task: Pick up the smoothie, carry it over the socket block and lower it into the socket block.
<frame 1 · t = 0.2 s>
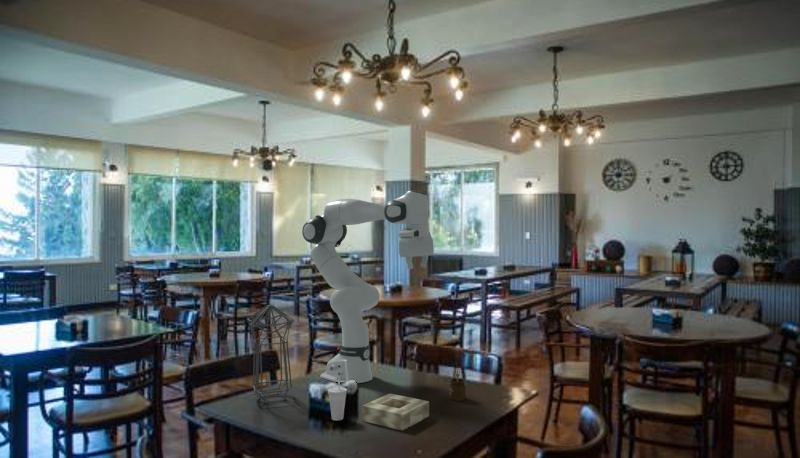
hand: (417, 268, 216), 48 cm above the table, tool pointing down, fingers open, 8 cm apart
brown upright piece: (457, 399, 207), on the table
smoothie: (337, 419, 185), on the table
socket block: (396, 418, 186), on the table
geometric lantern: (270, 399, 206), on the table
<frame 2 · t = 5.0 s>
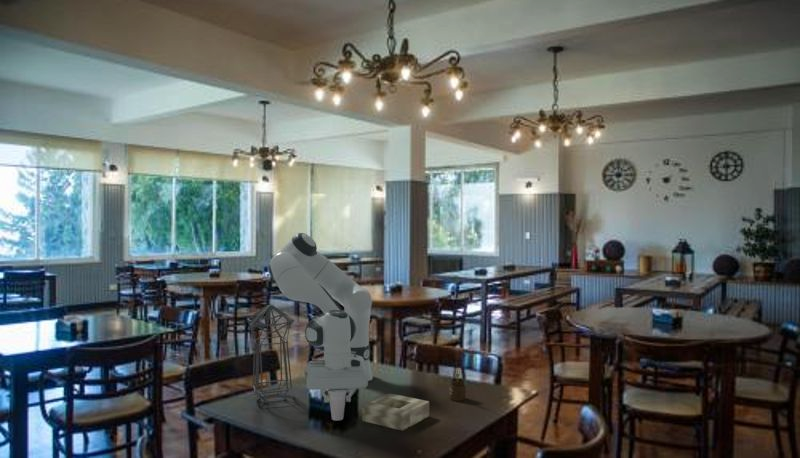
hand: (337, 401, 185), 6 cm above the table, tool pointing down, fingers closed on smoothie, 6 cm apart
smoothie: (337, 419, 185), on the table, touching gripper
everything else where it was.
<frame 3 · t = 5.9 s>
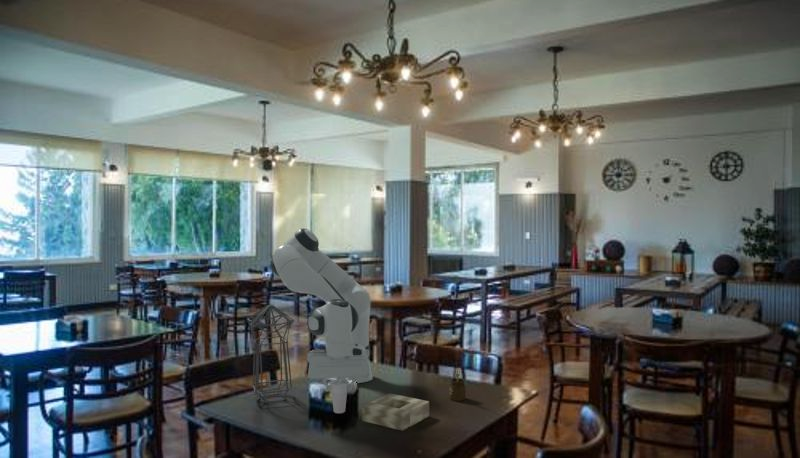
hand: (339, 390, 185), 9 cm above the table, tool pointing down, fingers closed on smoothie, 6 cm apart
smoothie: (339, 412, 185), point 2 cm above the table, touching gripper
everything else where it was.
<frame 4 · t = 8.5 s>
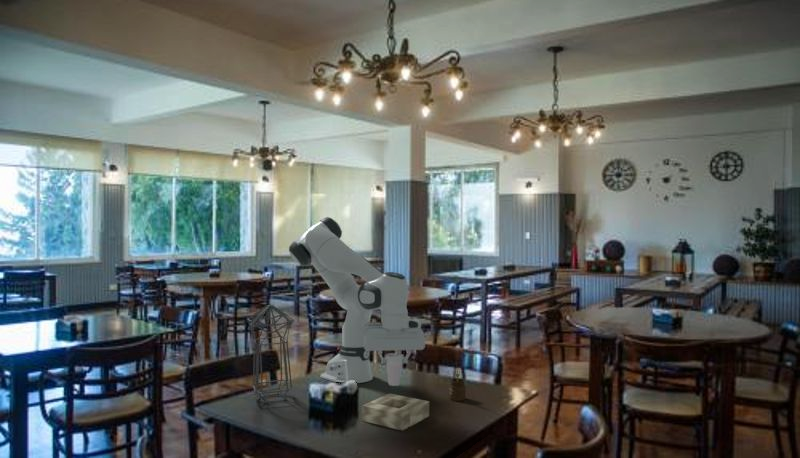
hand: (394, 363, 185), 18 cm above the table, tool pointing down, fingers closed on smoothie, 6 cm apart
smoothie: (394, 384, 185), point 11 cm above the table, touching gripper
everything else where it was.
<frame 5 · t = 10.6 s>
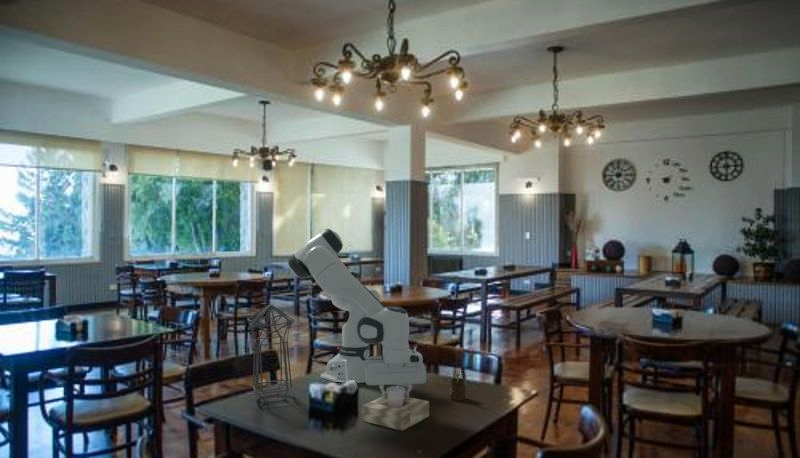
hand: (395, 397, 186), 7 cm above the table, tool pointing down, fingers closed on smoothie, 6 cm apart
smoothie: (395, 418, 186), resting in socket block, touching gripper
everything else where it was.
when the fingers open (7 cm above the table, at t = 11.2 s): smoothie stays where it is, resting in socket block.
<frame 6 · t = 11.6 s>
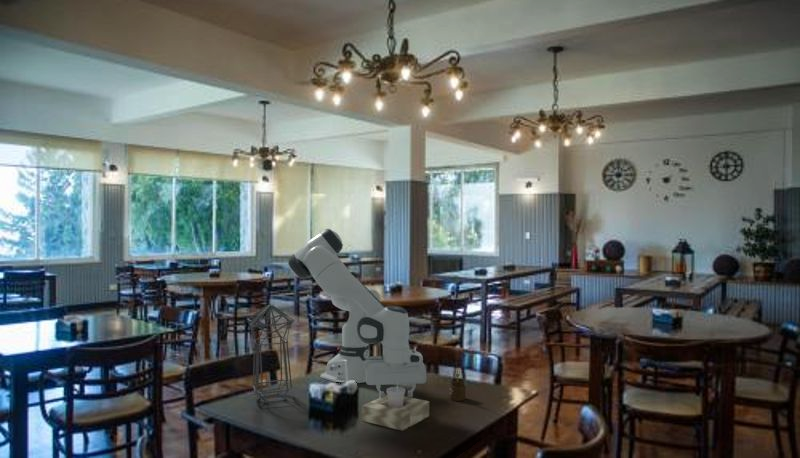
hand: (395, 397, 186), 7 cm above the table, tool pointing down, fingers open, 8 cm apart
smoothie: (395, 419, 186), resting in socket block
everything else where it was.
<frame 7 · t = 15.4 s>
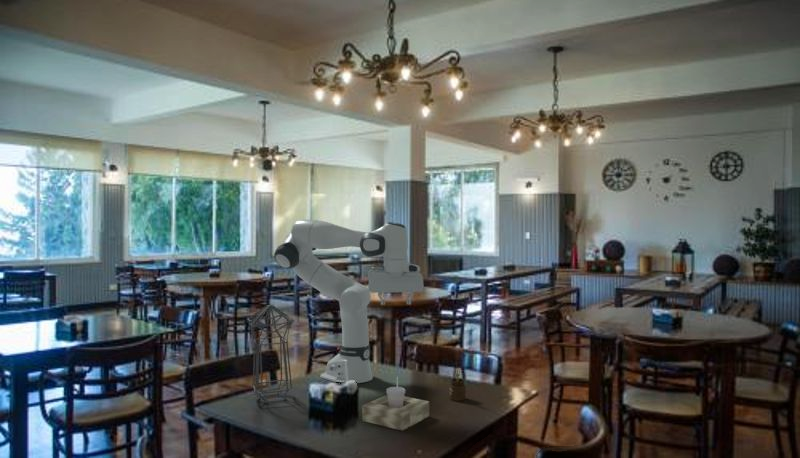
hand: (395, 304, 205), 35 cm above the table, tool pointing down, fingers open, 8 cm apart
nothing on the table moved.
at the end: smoothie 0.1 cm off-centre on the socket block, point 0.0 cm above the socket block's base; smoothie tilted 0°; the gripper is holding nothing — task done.
